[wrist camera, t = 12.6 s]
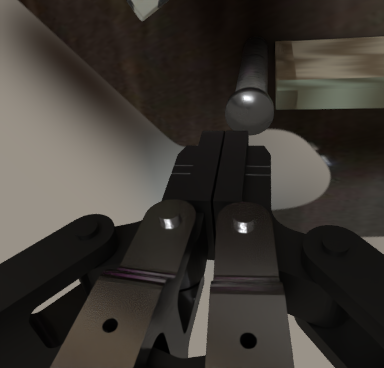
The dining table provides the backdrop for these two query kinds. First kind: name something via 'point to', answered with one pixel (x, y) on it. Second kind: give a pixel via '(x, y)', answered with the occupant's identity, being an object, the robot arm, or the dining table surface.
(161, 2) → the candy bar box
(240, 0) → the dining table surface
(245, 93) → the hinge post
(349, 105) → the gate
